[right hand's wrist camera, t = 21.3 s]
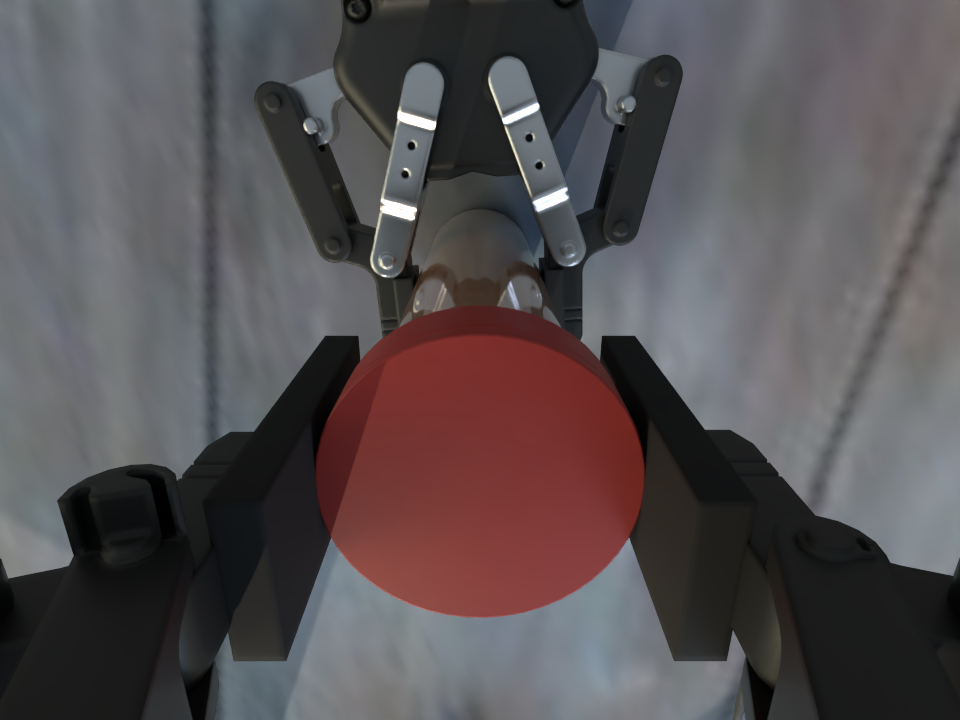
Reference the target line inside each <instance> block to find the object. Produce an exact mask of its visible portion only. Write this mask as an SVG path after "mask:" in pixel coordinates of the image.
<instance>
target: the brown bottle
mask: <svg viewBox="0 0 960 720" xmlns="http://www.w3.org/2000/svg"><path fill="white" fill-rule="evenodd" d="M473 305H476V306H498V307H504V308H511V309H516V310H520V311H523V312H527V313H530V314H534V315H536V316H539V317H541V318H543V319H546V320H548V321H550V322H553V323H554V324H556V325H558V326H559V327H561V328H563V327H562V325H561V322H560V320H559V318H558V315H557V313H556V310H555V308H554V305H553V303H552V301H551V298H550V296H549V293H548V291H547V289H546V286H545V284H544V281H543V279H542V276H541V274H540V272H539V269H538V267H537V264H536V262H535V260H534V257H533V255H532V252H531V250H530V247H529V245H528V243H527V240H526V238H525V236H524V234H523V232H522V231H521V230H520V228H519V227H518V226H517V225H516V224H515V223H514V222H513V221H512V220H511V219H510V218H508V217H506V216H505V215H503V214H501V213H499V212H496V211H492V210H487V209H473V210H468V211H464V212H462V213H459V214H457V215H455V216H454V217H452V218H451V219H449V220H448V221H447V222H446V223H445V224H444V225H443V226H442V227H441V228H440V230H439V231H438V233H437V234H436V236H435V238H434V241H433V243H432V245H431V248H430V250H429V253H428V255H427V257H426V260H425V262H424V265H423V267H422V270H421V272H420V274H419V277H418V279H417V282H416V284H415V286H414V289H413V291H412V294H411V296H410V299H409V301H408V303H407V306H406V308H405V311H404V313H403V315H402V318H401V320H400V323H399V325H398V327H397V328H399V327H401V326H402V325H404V324H406V323H408V322H410V321H412V320H414V319H416V318H419V317H422V316H424V315H427V314H430V313H432V312H436V311H440V310H445V309H449V308H454V307H463V306H473Z"/></svg>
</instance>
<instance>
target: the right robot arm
mask: <svg viewBox="0 0 960 720" xmlns="http://www.w3.org/2000/svg"><path fill="white" fill-rule="evenodd" d="M359 362H360V351H359V338H358V336H325V337H324V339H323V340H322V341H321V343H320V344H319V345H318V347H317V348H316V349H315V351H314V352H313V353H312V355H311V356H310V357H309V359H308V360H307V361H306V363H305V364H304V365H303V367H302V368H301V369H300V371H299V372H298V374H297V375H296V376H295V378H294V379H293V380H292V382H291V383H290V384H289V386H288V387H287V388H286V390H285V391H284V392H283V394H282V395H281V396H280V398H279V399H278V400H277V402H276V403H275V404H274V406H273V407H272V408H271V410H270V411H269V412H268V414H267V415H266V417H265V418H264V419H263V421H262V422H261V423H260V425H259V426H258V427H257V429H256V430H255V431H254V432H230V433H228V434H226V435H225V436H223V437H221V438H220V439H218V440H216V441H215V442H213V443H211V444H210V445H208V446H207V447H206V448H205V449H204V451H203V452H202V453H201V454H200V455H199V456H198V458H197V459H196V460H195V461H194V465H191V466H190V467H189V468H188V469H187V470H186V471H185V473H184V474H183V475H182V479H179V480H178V481H177V479H176V475H175V473H174V472H172V471H171V470H170V469H168V468H167V467H163V466H158V465H153V464H143V465H129V466H124V467H119V468H115V469H110V470H107V471H104V472H101V473H99V474H96V475H93V476H91V477H88V478H86V479H84V480H83V481H81V482H79V483H78V484H76V485H74V486H72V487H71V488H69V489H68V490H67V491H66V492H65V493H64V494H63V495H62V496H61V497H60V498H59V499H58V500H57V502H58V505H59V508H60V511H61V515H62V518H63V521H64V525H65V528H66V531H67V535H68V538H69V541H70V545H71V548H72V551H73V554H74V557H73V559H72V561H71V563H70V565H69V566H67V567H63V568H59V569H54V570H49V571H44V572H39V573H34V574H29V575H24V576H19V577H14V578H9V579H8V577H7V574H6V571H5V568H4V566H3V563H2V560H1V559H0V720H215V712H216V705H217V697H218V690H219V679H218V671H217V667H216V662H215V656H216V654H217V652H218V651H219V649H220V647H221V645H222V643H223V641H224V639H225V637H226V635H227V633H228V634H229V639H230V644H231V649H232V654H233V659H234V661H286V660H287V657H288V654H289V652H290V649H291V646H292V644H293V641H294V638H295V635H296V633H297V630H298V627H299V624H300V622H301V619H302V616H303V613H304V611H305V608H306V605H307V602H308V600H309V597H310V594H311V591H312V589H313V586H314V583H315V580H316V578H317V575H318V572H319V569H320V567H321V564H322V561H323V558H324V556H325V553H326V550H327V547H328V545H329V542H330V539H331V536H330V534H329V532H328V531H327V528H326V526H325V523H324V521H323V518H322V516H321V513H320V509H319V502H318V494H317V485H316V476H315V458H316V453H317V448H318V444H319V440H320V436H321V434H322V431H323V429H324V426H325V424H326V421H327V419H328V417H329V415H330V413H331V412H332V410H333V408H334V406H335V404H336V402H337V400H338V398H339V396H340V394H341V392H342V390H343V389H344V387H345V385H346V383H347V381H348V379H349V378H350V376H351V374H352V373H353V371H354V369H355V367H356V366H357V365H358V364H359ZM600 362H601V364H602V365H603V366H604V368H605V369H606V371H607V372H608V374H609V375H610V377H611V379H612V381H613V383H614V385H615V387H616V389H617V391H618V393H619V395H620V396H621V398H622V400H623V402H624V404H625V406H626V408H627V410H628V412H629V414H630V416H631V418H632V420H633V422H634V424H635V426H636V428H637V431H638V434H639V437H640V440H641V443H642V447H643V453H644V460H645V480H644V489H643V497H642V505H641V509H640V512H639V516H638V519H637V522H636V524H635V526H634V528H633V530H632V532H631V534H630V536H629V538H630V541H631V544H632V546H633V549H634V552H635V555H636V557H637V560H638V563H639V566H640V568H641V571H642V574H643V577H644V579H645V582H646V585H647V588H648V590H649V593H650V596H651V599H652V601H653V604H654V607H655V609H656V612H657V615H658V618H659V620H660V623H661V626H662V629H663V631H664V634H665V637H666V640H667V642H668V645H669V648H670V651H671V653H672V656H673V659H674V661H727V656H728V651H729V646H730V641H731V636H732V631H734V633H735V635H736V637H737V639H738V641H739V643H740V645H741V647H742V648H743V650H744V652H745V654H746V657H745V662H744V667H743V671H742V676H741V681H740V685H739V690H738V695H737V699H736V704H735V709H734V715H733V720H742V718H743V714H744V711H745V719H746V720H960V559H959V562H958V564H957V567H956V570H955V573H954V576H950V575H945V574H940V573H935V572H930V571H925V570H920V569H915V568H910V567H905V566H901V565H897V564H893V563H890V561H889V559H888V558H887V556H886V554H885V553H884V552H883V551H882V549H881V548H880V547H879V546H878V544H877V543H876V542H875V541H873V540H872V539H870V538H869V537H868V536H866V535H865V534H863V533H862V532H860V531H859V530H857V529H855V528H852V527H850V526H848V525H846V524H843V523H841V522H839V521H835V520H831V519H827V518H823V517H819V516H815V515H814V513H813V512H812V511H811V510H810V509H809V508H808V506H807V505H806V504H805V503H804V502H803V501H802V500H801V498H800V497H799V496H798V495H797V494H796V493H795V491H794V490H793V489H792V488H791V487H790V486H789V485H788V483H787V482H786V481H785V480H784V479H783V478H782V476H779V475H778V474H779V473H778V472H777V471H776V469H775V468H774V467H773V466H772V465H771V464H770V463H767V459H766V458H765V457H764V456H763V454H762V453H761V452H760V451H759V450H758V449H757V448H756V446H755V445H754V444H753V443H751V442H750V441H748V440H746V439H744V438H743V437H741V436H739V435H738V434H736V433H734V432H733V431H731V430H705V429H704V428H703V427H702V425H701V424H700V423H699V421H698V420H697V419H696V417H695V416H694V415H693V413H692V412H691V411H690V409H689V408H688V407H687V405H686V404H685V403H684V401H683V400H682V399H681V397H680V396H679V394H678V393H677V392H676V390H675V389H674V388H673V386H672V385H671V384H670V382H669V381H668V380H667V378H666V377H665V376H664V374H663V373H662V372H661V370H660V369H659V368H658V366H657V365H656V364H655V362H654V361H653V360H652V358H651V357H650V356H649V354H648V353H647V352H646V350H645V349H644V347H643V346H642V345H641V343H640V342H639V341H638V339H637V338H636V337H635V336H602V343H601V356H600Z"/></svg>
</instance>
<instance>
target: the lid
mask: <svg viewBox="0 0 960 720" xmlns="http://www.w3.org/2000/svg"><path fill="white" fill-rule="evenodd" d="M315 476H316V485H317V494H318V502H319V509H320V513H321V516H322V518H323V521H324V523H325V526H326V528H327V531H328V532H329V534H330V536H331V538H332V539H333V541H334V543H335V545H336V546H337V548H338V549H339V550H340V551H341V553H342V554H343V555H344V557H345V558H346V559H347V561H348V562H349V563H350V564H351V565H352V566H353V567H354V568H355V569H356V570H357V571H358V572H359V573H360V574H361V575H363V576H364V577H365V578H366V579H368V580H369V581H370V582H371V583H373V584H374V585H375V586H377V587H378V588H380V589H382V590H383V591H385V592H387V593H388V594H390V595H391V596H393V597H395V598H398V599H400V600H402V601H404V602H406V603H408V604H411V605H414V606H417V607H419V608H422V609H425V610H428V611H433V612H437V613H441V614H446V615H453V616H461V617H484V618H486V617H499V616H508V615H513V614H519V613H524V612H528V611H531V610H534V609H538V608H541V607H544V606H547V605H549V604H551V603H554V602H556V601H559V600H561V599H563V598H565V597H566V596H568V595H570V594H572V593H574V592H575V591H577V590H579V589H580V588H582V587H583V586H584V585H586V584H587V583H589V582H590V581H591V580H593V579H594V578H595V577H596V576H597V575H598V574H600V573H601V572H602V571H603V570H604V569H605V568H606V567H607V566H608V565H609V564H610V563H611V561H612V560H613V559H614V558H615V557H616V556H617V554H618V553H619V552H620V550H621V549H622V547H623V546H624V544H625V543H626V541H627V540H628V538H629V536H630V534H631V532H632V530H633V528H634V526H635V524H636V522H637V519H638V516H639V512H640V509H641V505H642V497H643V489H644V480H645V460H644V453H643V447H642V443H641V440H640V437H639V434H638V431H637V428H636V426H635V424H634V422H633V420H632V418H631V416H630V414H629V412H628V410H627V408H626V406H625V404H624V402H623V400H622V398H621V396H620V395H619V393H618V391H617V389H616V387H615V385H614V383H613V381H612V379H611V377H610V375H609V374H608V372H607V371H606V369H605V368H604V366H603V365H602V364H601V362H600V361H599V359H598V358H597V357H596V356H595V355H594V354H593V353H592V352H591V351H590V350H589V349H588V347H587V346H586V345H584V344H583V343H582V342H581V341H580V340H578V339H577V338H576V337H575V336H573V335H572V334H571V333H569V332H568V331H566V330H564V329H563V328H561V327H559V326H558V325H556V324H554V323H553V322H550V321H548V320H546V319H543V318H541V317H539V316H536V315H534V314H530V313H527V312H523V311H520V310H516V309H511V308H504V307H498V306H476V305H473V306H463V307H454V308H449V309H445V310H440V311H436V312H432V313H430V314H427V315H424V316H422V317H419V318H416V319H414V320H412V321H410V322H408V323H406V324H404V325H402V326H401V327H399V328H397V329H395V330H394V331H393V332H391V333H390V334H388V335H387V336H386V337H384V338H383V339H381V340H380V341H379V342H378V343H377V344H376V345H375V346H374V347H373V348H372V349H371V350H370V351H369V352H367V354H366V355H365V356H364V357H363V359H362V360H361V361H360V362H359V364H358V365H357V366H356V367H355V369H354V371H353V373H352V374H351V376H350V378H349V379H348V381H347V383H346V385H345V387H344V389H343V390H342V392H341V394H340V396H339V398H338V400H337V402H336V404H335V406H334V408H333V410H332V412H331V413H330V415H329V417H328V419H327V421H326V424H325V426H324V429H323V431H322V434H321V436H320V440H319V444H318V448H317V453H316V458H315Z"/></svg>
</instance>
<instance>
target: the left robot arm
mask: <svg viewBox="0 0 960 720" xmlns="http://www.w3.org/2000/svg"><path fill="white" fill-rule="evenodd" d="M341 4H342V13H343V25H342V33H341V38H340V42H339V45H338V47H337V50H336V52H335V56H334V62H333V67H331V68H329V69H326V70H323V71H321V72H318V73H315V74H313V75H310V76H308V77H305V78H302V79H300V80H297V81H294V82H292V83H289V84H282V83H278V82H273V81H269V82H265V83H263V84H261V85H260V86H259V87H258V89H257V90H256V93H255V97H254V102H255V107H256V109H257V112H258V114H259V116H260V119H261V121H262V123H263V126H264V128H265V130H266V133H267V135H268V137H269V139H270V142H271V144H272V146H273V149H274V151H275V153H276V156H277V158H278V160H279V163H280V165H281V167H282V170H283V172H284V174H285V177H286V179H287V181H288V184H289V186H290V188H291V190H292V193H293V195H294V197H295V200H296V202H297V204H298V207H299V209H300V211H301V214H302V216H303V218H304V221H305V223H306V225H307V228H308V230H309V232H310V234H311V237H312V239H313V241H314V244H315V246H316V248H317V251H318V253H319V254H320V256H321V257H322V258H324V259H325V260H327V261H329V262H334V263H337V262H341V261H342V262H346V263H349V264H353V265H356V266H360V267H362V268H364V269H366V270H367V271H368V272H369V273H370V274H371V275H372V276H373V278H374V280H375V282H376V288H377V296H378V304H379V311H380V319H381V327H382V335H383V338H384V337H386V336H387V335H388V334H390V333H391V332H393V331H394V330H395V329H397V327H398V325H399V323H400V320H401V318H402V315H403V313H404V311H405V308H406V306H407V303H408V301H409V299H410V296H411V294H412V291H413V289H414V286H415V284H416V282H417V279H418V277H419V266H418V265H413V266H412V256H411V253H412V249H413V245H414V241H415V236H416V232H417V228H418V224H419V219H420V215H421V211H422V207H423V204H424V201H425V197H426V193H427V189H428V185H429V181H434V180H449V179H452V178H455V177H458V176H461V175H464V174H466V173H469V172H478V173H483V174H488V175H492V176H510V175H519V176H520V179H521V182H522V184H523V187H524V190H525V192H526V195H527V197H528V200H529V202H530V204H531V207H532V210H533V212H534V215H535V218H536V220H537V223H538V226H539V228H540V231H541V234H542V236H543V239H544V258H539V272H540V274H541V276H542V279H543V281H544V284H545V286H546V289H547V291H548V293H549V296H550V298H551V301H552V303H553V305H554V308H555V310H556V313H557V315H558V318H559V320H560V322H561V325H562V327H563V329H564V330H566V331H568V332H569V333H571V334H572V335H573V336H575V337H576V338H577V339H578V340H581V337H582V271H583V266H584V264H585V262H586V260H587V259H588V258H589V257H590V256H591V255H592V254H594V253H596V252H598V251H600V250H603V249H605V248H607V247H610V246H612V245H618V246H621V245H626V244H628V243H630V242H631V241H632V240H633V239H634V238H635V237H636V235H637V233H638V229H639V226H640V223H641V219H642V216H643V212H644V209H645V205H646V202H647V198H648V195H649V191H650V188H651V185H652V181H653V178H654V174H655V171H656V167H657V164H658V160H659V157H660V154H661V150H662V147H663V143H664V140H665V136H666V133H667V129H668V126H669V122H670V119H671V116H672V112H673V109H674V105H675V102H676V98H677V95H678V91H679V88H680V85H681V81H682V76H683V72H682V67H681V65H680V63H679V61H678V60H677V59H676V58H674V57H673V56H670V55H661V56H657V57H653V58H650V59H646V58H641V57H637V56H632V55H628V54H624V53H619V52H615V51H610V50H606V49H601V48H599V47H598V42H597V39H596V36H595V34H594V32H593V30H592V28H591V26H590V24H589V22H588V20H587V17H586V14H585V10H584V6H583V0H341ZM589 82H592V83H594V84H595V85H596V86H597V87H598V89H599V90H600V93H601V99H602V101H601V112H602V115H603V117H604V119H605V120H606V121H607V122H609V123H611V124H614V125H615V126H614V130H613V134H612V138H611V142H610V146H609V149H608V153H607V157H606V161H605V165H604V169H603V173H602V176H601V180H600V184H599V188H598V192H597V196H596V200H595V203H594V207H593V209H591V210H589V211H586V212H584V213H582V214H580V215H577V216H576V215H575V212H574V209H573V207H572V204H571V201H570V198H569V193H568V189H567V185H566V182H565V179H564V177H563V174H562V171H561V168H560V165H559V162H558V159H557V157H556V154H555V151H554V148H553V145H552V140H553V139H554V137H555V135H556V134H557V132H558V131H559V129H560V128H561V126H562V124H563V123H564V121H565V120H566V118H567V116H568V115H569V113H570V112H571V110H572V109H573V107H574V105H575V104H576V102H577V101H578V99H579V98H580V96H581V94H582V93H583V91H584V90H585V88H586V87H587V85H588V83H589ZM345 99H347V100H348V101H349V102H350V103H351V105H352V106H353V107H354V108H355V109H356V111H357V112H358V113H359V114H360V115H361V117H362V118H363V119H364V120H365V121H366V123H367V124H368V125H369V126H370V127H371V129H372V130H373V131H374V132H375V133H376V135H377V136H378V137H379V138H380V140H381V141H382V142H383V143H384V144H385V146H386V147H387V148H388V149H389V150H390V157H389V161H388V166H387V171H386V176H385V180H384V185H383V190H382V195H381V201H380V214H379V219H378V223H377V228H373V227H370V226H366V225H363V224H361V223H360V221H359V218H358V216H357V213H356V211H355V208H354V206H353V203H352V201H351V198H350V196H349V193H348V191H347V188H346V186H345V183H344V181H343V178H342V176H341V173H340V171H339V168H338V166H337V163H336V161H335V158H334V156H333V153H332V151H331V148H330V146H329V144H330V143H332V142H333V141H335V139H336V138H337V137H338V135H339V131H340V124H339V120H338V110H339V107H340V105H341V103H342V102H343V101H344V100H345Z"/></svg>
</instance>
